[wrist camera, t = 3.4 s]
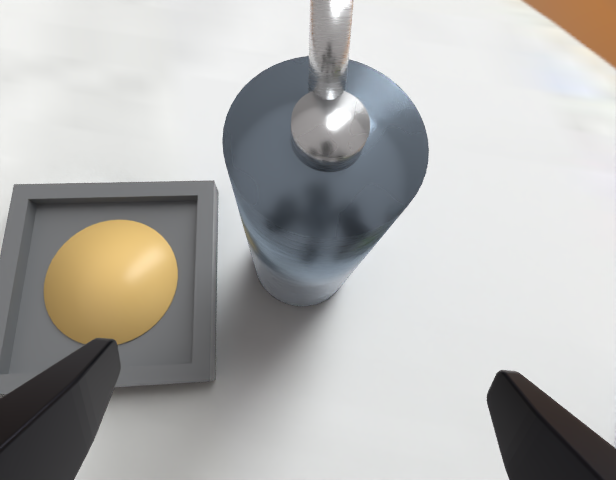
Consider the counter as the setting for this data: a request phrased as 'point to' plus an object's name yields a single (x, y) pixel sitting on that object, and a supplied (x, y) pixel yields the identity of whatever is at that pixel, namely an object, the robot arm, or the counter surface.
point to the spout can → (321, 161)
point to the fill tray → (111, 278)
